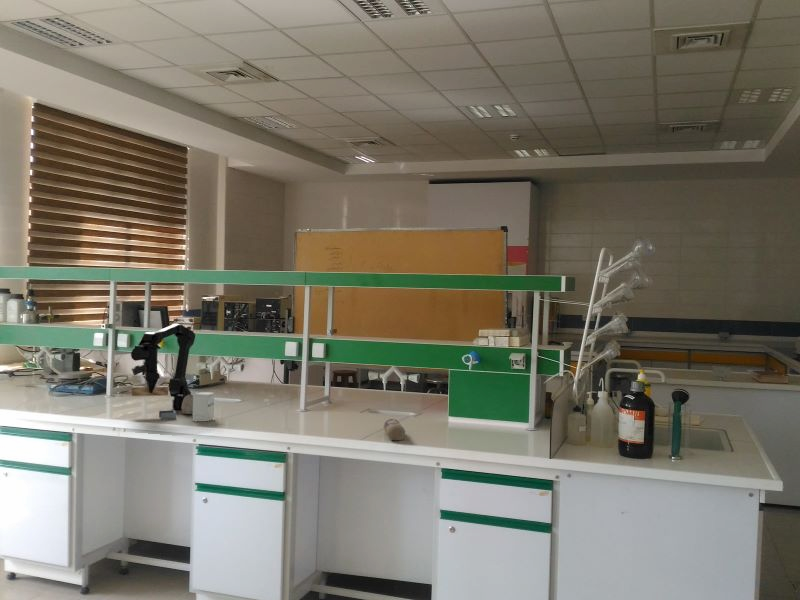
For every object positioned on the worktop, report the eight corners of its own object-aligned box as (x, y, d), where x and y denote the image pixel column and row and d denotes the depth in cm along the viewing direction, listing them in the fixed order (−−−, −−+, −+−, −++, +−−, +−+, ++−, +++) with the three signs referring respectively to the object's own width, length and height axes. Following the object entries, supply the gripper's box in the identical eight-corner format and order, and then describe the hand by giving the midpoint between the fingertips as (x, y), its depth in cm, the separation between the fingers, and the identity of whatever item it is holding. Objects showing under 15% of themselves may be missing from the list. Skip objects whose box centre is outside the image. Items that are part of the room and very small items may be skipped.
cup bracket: (173, 416, 346) (173, 410, 346) (176, 419, 339) (176, 412, 339) (159, 417, 343) (159, 410, 343) (161, 419, 336) (161, 413, 336)
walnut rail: (168, 394, 350) (168, 385, 350) (167, 395, 346) (167, 386, 346) (132, 394, 345) (132, 386, 345) (131, 395, 342) (131, 387, 342)
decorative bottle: (405, 441, 302) (406, 425, 301) (387, 441, 301) (387, 425, 300) (398, 429, 327) (398, 414, 327) (381, 429, 326) (381, 414, 326)
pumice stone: (213, 414, 353) (214, 394, 353) (205, 417, 346) (205, 396, 346) (186, 412, 358) (187, 391, 358) (177, 414, 351) (178, 394, 351)
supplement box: (207, 422, 333) (207, 394, 333) (192, 421, 334) (192, 393, 334) (214, 419, 340) (214, 392, 340) (199, 418, 342) (200, 391, 341)
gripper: (131, 357, 351) (130, 390, 351) (134, 361, 334) (133, 395, 334) (155, 357, 355) (155, 389, 355) (160, 360, 338) (159, 394, 338)
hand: (150, 392), depth 346 cm, fingers closed on walnut rail, 4 cm apart
